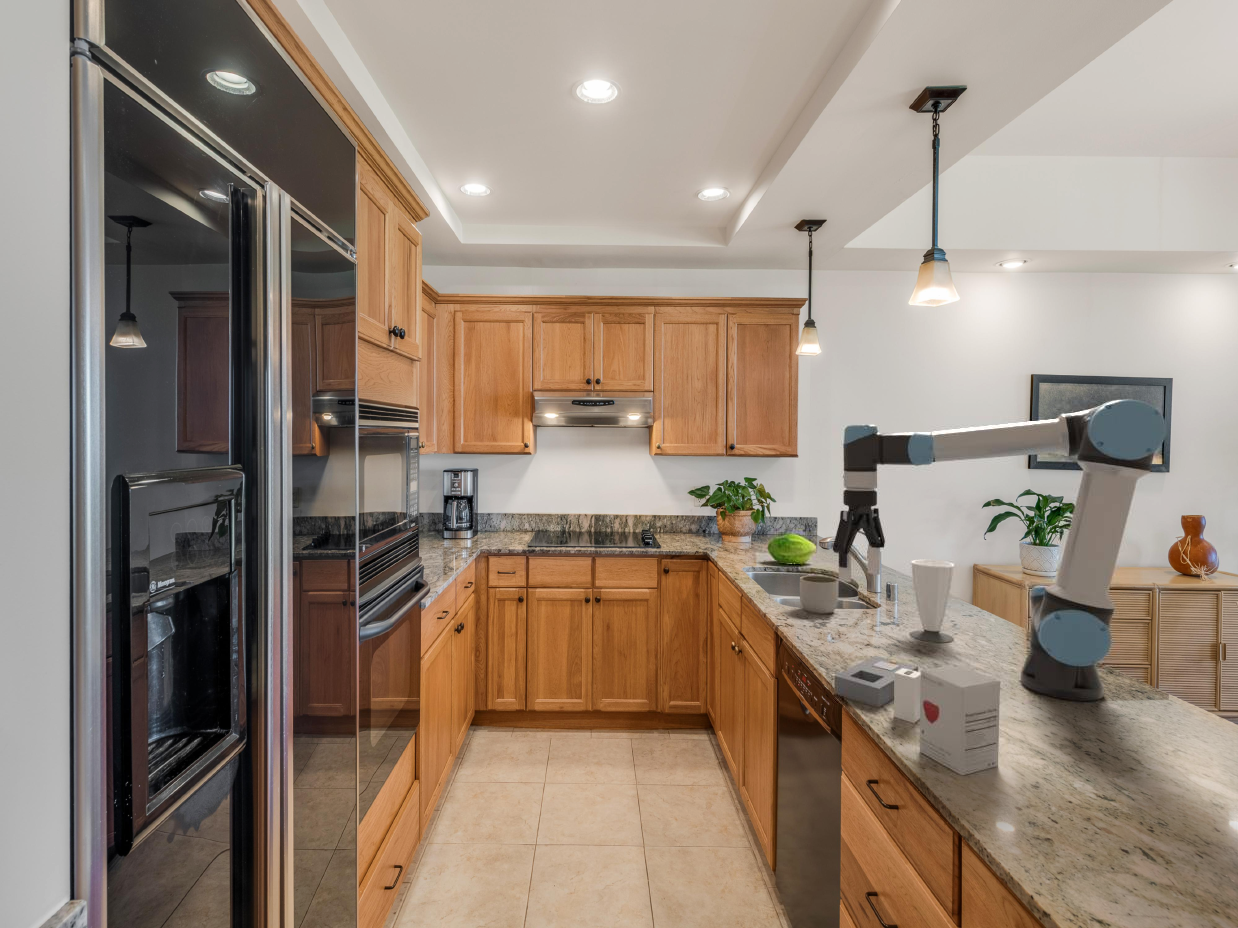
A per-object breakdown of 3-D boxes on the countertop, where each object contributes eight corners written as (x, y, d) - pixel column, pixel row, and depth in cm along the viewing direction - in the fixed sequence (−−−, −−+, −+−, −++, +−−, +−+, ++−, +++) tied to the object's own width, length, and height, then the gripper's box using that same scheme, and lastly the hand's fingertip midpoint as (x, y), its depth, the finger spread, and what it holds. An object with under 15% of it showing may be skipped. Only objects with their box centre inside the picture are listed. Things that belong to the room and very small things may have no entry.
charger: (922, 717, 123) (922, 672, 123) (914, 723, 121) (914, 677, 121) (902, 710, 126) (902, 667, 126) (893, 716, 124) (894, 671, 124)
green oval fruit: (812, 559, 301) (818, 569, 285) (765, 558, 303) (769, 568, 288) (813, 530, 298) (819, 539, 283) (765, 529, 301) (769, 538, 285)
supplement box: (917, 751, 109) (918, 668, 109) (954, 743, 112) (955, 662, 112) (961, 776, 101) (962, 686, 100) (1000, 767, 104) (1001, 679, 104)
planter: (812, 604, 215) (813, 573, 215) (845, 611, 205) (845, 579, 205) (792, 610, 207) (792, 578, 207) (824, 618, 197) (825, 584, 197)
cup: (960, 643, 171) (961, 567, 170) (916, 641, 173) (917, 565, 172) (945, 631, 182) (946, 559, 182) (904, 630, 184) (905, 558, 183)
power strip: (917, 683, 141) (918, 665, 141) (878, 707, 128) (879, 687, 128) (875, 671, 149) (875, 654, 149) (834, 693, 135) (834, 674, 135)
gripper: (871, 486, 158) (870, 568, 158) (817, 490, 141) (816, 581, 142) (899, 487, 152) (899, 572, 152) (847, 492, 136) (846, 587, 136)
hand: (859, 577), depth 147 cm, fingers open, 13 cm apart
